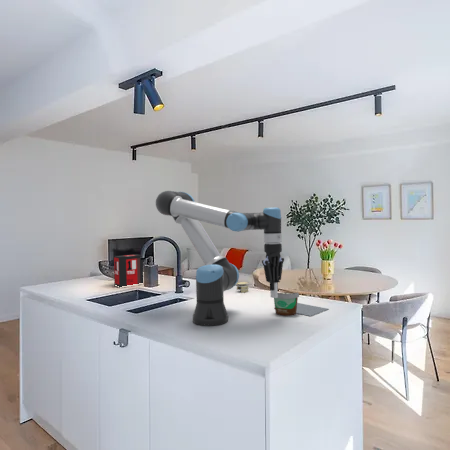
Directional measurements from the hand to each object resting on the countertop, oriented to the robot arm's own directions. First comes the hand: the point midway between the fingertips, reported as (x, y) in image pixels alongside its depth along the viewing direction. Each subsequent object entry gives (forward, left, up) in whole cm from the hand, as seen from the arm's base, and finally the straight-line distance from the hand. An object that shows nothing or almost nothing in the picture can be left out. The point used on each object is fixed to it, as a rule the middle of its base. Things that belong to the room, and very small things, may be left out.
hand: (274, 297), depth 153 cm
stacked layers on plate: (+31, +48, -10) cm, 58 cm away
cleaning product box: (-4, +119, -10) cm, 120 cm away
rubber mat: (+21, 0, -9) cm, 23 cm away
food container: (+8, 0, -10) cm, 12 cm away
